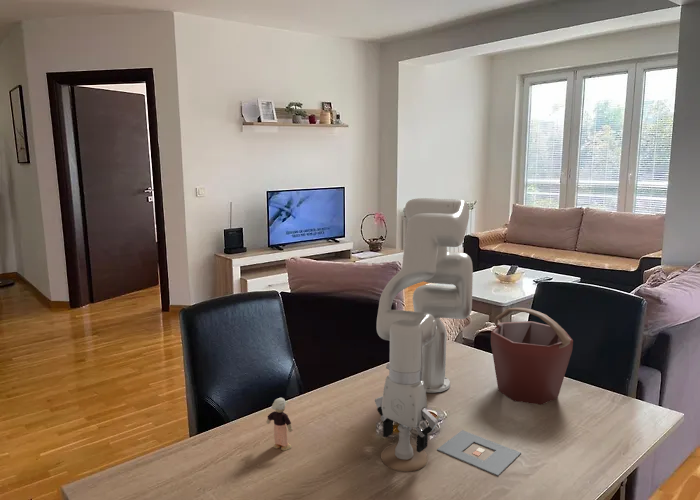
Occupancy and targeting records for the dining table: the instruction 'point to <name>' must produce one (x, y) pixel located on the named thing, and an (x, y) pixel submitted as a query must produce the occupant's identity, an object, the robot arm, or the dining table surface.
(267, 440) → the dining table surface
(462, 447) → the grey frame plate
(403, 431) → the rook chess piece
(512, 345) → the bucket
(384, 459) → the walnut coaster
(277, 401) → the grandmother figurine
